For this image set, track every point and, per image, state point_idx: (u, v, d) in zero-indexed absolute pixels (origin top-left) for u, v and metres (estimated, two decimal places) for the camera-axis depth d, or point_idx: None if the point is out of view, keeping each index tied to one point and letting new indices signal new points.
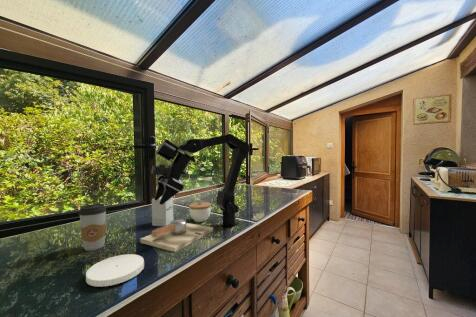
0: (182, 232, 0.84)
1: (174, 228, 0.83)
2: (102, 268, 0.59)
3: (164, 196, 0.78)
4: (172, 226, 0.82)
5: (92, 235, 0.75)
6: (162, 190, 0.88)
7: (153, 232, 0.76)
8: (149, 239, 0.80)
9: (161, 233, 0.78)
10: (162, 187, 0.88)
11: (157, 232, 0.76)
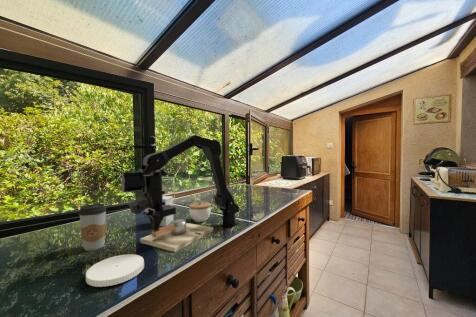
0: (182, 232, 0.84)
1: (174, 228, 0.83)
2: (102, 268, 0.59)
3: (155, 223, 0.78)
4: (172, 226, 0.82)
5: (92, 235, 0.75)
6: None
7: (153, 232, 0.76)
8: (149, 239, 0.80)
9: (161, 233, 0.78)
10: None
11: (157, 232, 0.76)
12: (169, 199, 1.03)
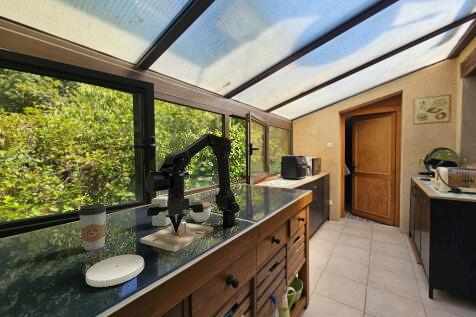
0: None
1: None
2: (102, 268, 0.59)
3: None
4: None
5: (92, 235, 0.75)
6: (175, 219, 0.77)
7: (181, 232, 0.75)
8: (149, 239, 0.80)
9: None
10: (175, 217, 0.76)
11: (184, 231, 0.76)
12: None
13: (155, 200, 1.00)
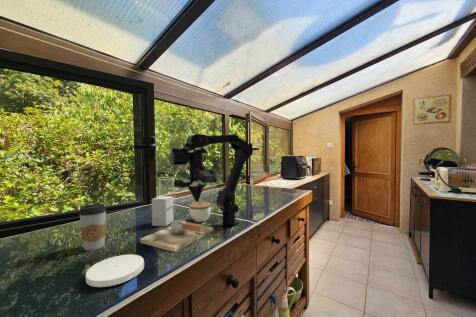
0: None
1: None
2: (102, 268, 0.59)
3: None
4: None
5: (92, 235, 0.75)
6: None
7: (201, 227, 0.80)
8: (149, 239, 0.80)
9: None
10: None
11: None
12: (169, 199, 1.03)
13: (155, 200, 1.00)
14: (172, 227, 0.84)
